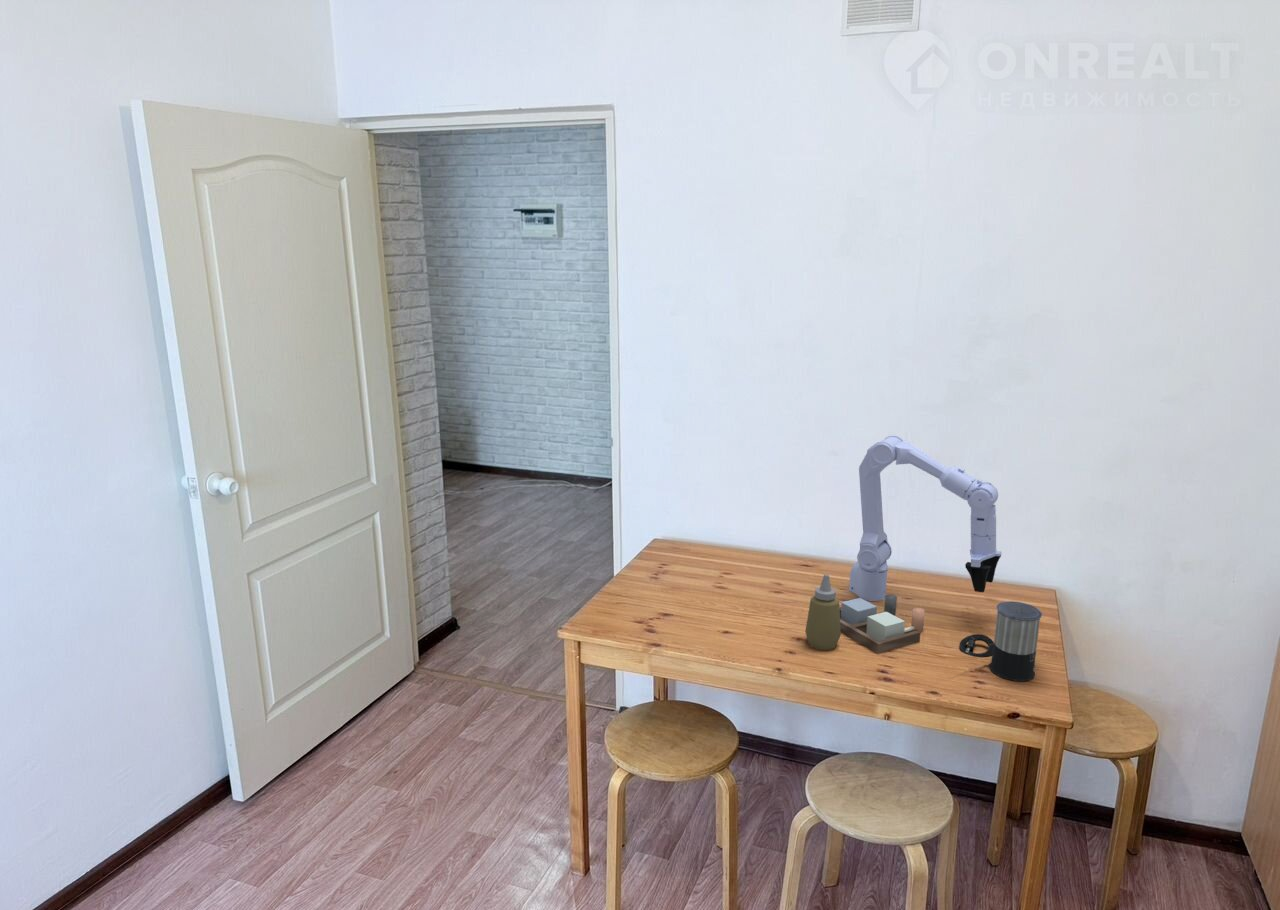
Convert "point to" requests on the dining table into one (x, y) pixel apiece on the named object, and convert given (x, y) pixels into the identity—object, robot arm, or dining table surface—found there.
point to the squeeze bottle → (823, 617)
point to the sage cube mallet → (893, 624)
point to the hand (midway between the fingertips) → (983, 586)
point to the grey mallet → (865, 609)
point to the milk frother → (1010, 641)
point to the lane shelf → (860, 636)
